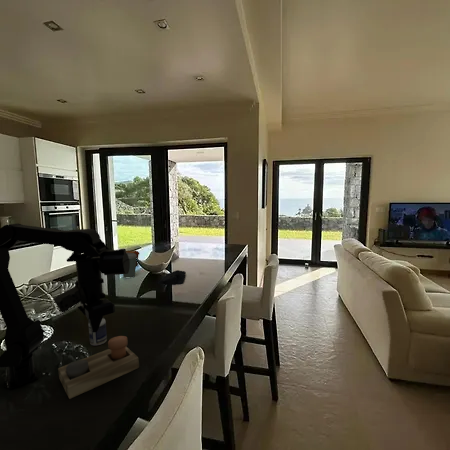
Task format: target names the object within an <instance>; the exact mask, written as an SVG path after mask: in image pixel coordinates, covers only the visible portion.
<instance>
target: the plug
mask: <svg viewBox="0 0 450 450" xmlns="http://www.w3.org/2000/svg"><path fill="white" fill-rule="evenodd" d="M68 364H69V365H68ZM68 364H67V365H68V366H67V367H66V374H67V376H69V377H70V380H71V379H74V378H76V377H78V376H81V375H83V374H86V371H87V370H88V368H89V367H88V361H87V360H81V359H78V360H75V361H72V362H70V363H68Z"/></svg>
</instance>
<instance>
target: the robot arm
mask: <svg viewBox="0 0 450 450" xmlns="http://www.w3.org/2000/svg"><path fill="white" fill-rule="evenodd" d="M18 241H20V242H27V243H37V244H43V245H44V244H45V245H52V246H53V245H54V246H58V247H61V248H63V249H64V250H66V251H70V252H72V253H71V255H69V257H68V258H66V262H68V263H70V262H72V263H73V262H75V269H76V270H75V271H76V277H77V278H76V280H75V282H74V287H72V288H70V289H68V290H66V291H64V292H62V293H60V294H59V295H57V296H55V297H54V298H53V301H54V303H55V305H56V306H57V308H58V310H60V312H61V313H62V314H63V313H66V312H67V311H69V310H70V309H72V308H73V307H75V306H76V305H78V304H79V303H80V306H77V309H78V310H79V311H80V312H81V313H82V314H83V315H84V316H86V318H87V319H86V320H88V324H90V326H91V329H92V331H93V333H94V332H97V331H98V329H99V326H100V323H101V321H102V318H103V319H104V317H105V316H106V315H110V314H114V313H115V312H116V306H115V305H116V304H115V303H113V302H112V301H111V300H109V299H107V298H106V294H105V293H104V292H103V284H104V283H105V282H104V278H102V274H104V276H116V275H117V276H118V275H123V274H128V272H129V269H130V259H129V258H128V255H127V253H126V251H127V249H126V248H120V249H119V248H118V249H110V248H109V247H108V246H107V244H106V243H105V242H104V241H103V240H102V239H101V235H100V234H99V233H98V232H97V230H95V229H94V228H93V229H92V228H81V229H80V228H79V229H65V230H64V229H56V228H49V227H42V226H34V225H27V224H26V225H25V224H22V223H18V222H17V223H11V224H4V225H3V226H2V227H0V314H1V317H2V320H3V321H4V324H5V334H4V344H5V345H4V346H5V349H6V350H5V351H4V352H3V353H2V354H1V355H0V368H7V375H8V376H6V382H7V389H8V390H12V389H15V388H17V387H20V386H23V385H25V384H28V383H31V382H33V381H36V380H38V379H39V376H38V373H37V370H36V367H35V364H34V352H36V351H37V350H38V349H39V347H40V345H41V344H42V342H43V341H44V339H45V334H44V333H45V332H46V330H44V329H43V327H42V323H41V320H40V319H37V320H33V319H31V318H30V317H29V316H28V314H27V311H26V309H25V306H24V304H23V302H22V299H21V297H20V295H19V292H18V290H17V288H16V285H15V282H14V280H13V278H12V275H11V273H10V270H9V266H10V265H9V264H10V259H11V256H10V251H9V250H10V249H12V248H13V247H14V246H16V245H17V243H18Z"/></svg>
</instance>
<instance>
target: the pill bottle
mask: <svg viewBox="0 0 450 450" xmlns="http://www.w3.org/2000/svg"><path fill="white" fill-rule="evenodd" d="M88 334H89V335H88V336H89V343H90V346H100V345H103V344H105V343H106V342H108V341H107V340H108V336H107V334H108V333H107V323H106V319H105V318H104V317H103V318H102V321H101V323H100V326H99V329H98V331H97V332H94V333H93V331H92V329H91V326H90V324H89V323H88Z"/></svg>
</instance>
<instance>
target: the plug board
mask: <svg viewBox="0 0 450 450" xmlns="http://www.w3.org/2000/svg"><path fill="white" fill-rule="evenodd" d="M80 360H87V361H88V367H89V368H88V370H87V371H86V374H83V375H81V376H78V377H76V378H74V379H71V380H70V377H69V376H67V374H66V367H67V366H68V365H69V364H70V363H68V364H65V365H63V366H61V367H58V368H57V370H58V379H59V381H60V383H61V385H62V387H63V389H64V391H65V393H66V395H67V397H68V399H69V400H71V399H73V398H75V397H77V396H79V395H82V394H83V393H84V394H85V393H86V392H88V391H91V390H93V389H94V388H95V389H96V388H98V387H99V386H102V385H104V384H106V383H108V382H111V381H112V380H114V379H117V378H119V377H121V376H124V375H126V374H128V373H130V372H133V371H134V370H137V369H139V368H140V363H139V357H138V355H136V354H135V353H134V352H133V351H132V350H130V348H129V347H127V346H126V355H125V356H124V357H123V358H120V359H112V357H111V350H110V349H109V348H107V349H105V350H103V351H100V352H97V353H95V354H93V355H90V356H87V357H85V358H82V359H80Z"/></svg>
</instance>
